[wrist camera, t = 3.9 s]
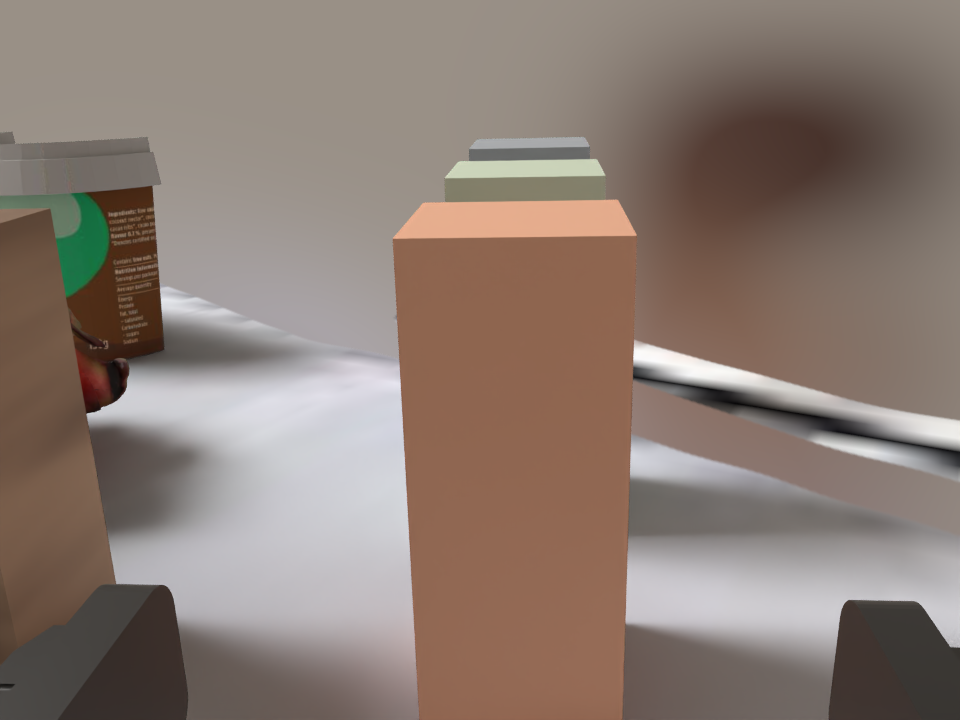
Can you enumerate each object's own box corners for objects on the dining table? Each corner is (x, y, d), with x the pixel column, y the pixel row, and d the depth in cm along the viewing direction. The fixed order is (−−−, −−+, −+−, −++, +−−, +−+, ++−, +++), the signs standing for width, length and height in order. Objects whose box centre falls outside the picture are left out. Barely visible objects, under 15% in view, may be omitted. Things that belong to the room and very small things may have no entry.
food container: (-78, 348, 45) (-126, 141, 41) (40, 319, 49) (6, 131, 46) (63, 393, 38) (18, 149, 35) (184, 354, 43) (155, 136, 39)
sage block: (456, 533, 26) (444, 178, 23) (468, 473, 29) (458, 161, 26) (598, 535, 25) (605, 175, 22) (591, 474, 29) (596, 159, 26)
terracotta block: (420, 734, 18) (392, 239, 15) (441, 617, 22) (423, 202, 19) (621, 739, 18) (637, 235, 15) (608, 620, 22) (618, 199, 18)
